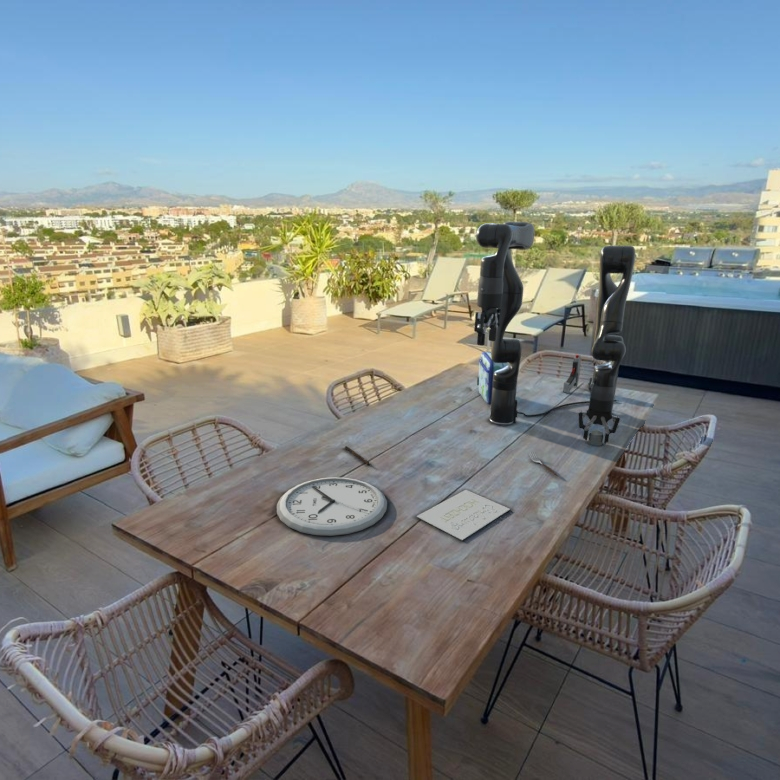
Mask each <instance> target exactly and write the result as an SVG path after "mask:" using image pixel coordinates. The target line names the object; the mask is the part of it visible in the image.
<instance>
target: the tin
mask: <svg viewBox="0 0 780 780" xmlns="http://www.w3.org/2000/svg"><path fill="white" fill-rule="evenodd" d="M588 435H589V436H588V440H587V443H588V444H589V445H590V446H591V445H592V446H596V447H600V446H602V445H603V442H604V436H605V433H604V432H603V431H601V430H596V429H591V430H590V431H589V433H588Z"/></svg>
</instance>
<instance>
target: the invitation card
mask: <svg viewBox="0 0 780 780" xmlns="http://www.w3.org/2000/svg"><path fill="white" fill-rule="evenodd" d="M510 510H511V508H509V507H507V506H504V505H503V504H500V503H498V502H496V501H493V500H492V499H491V500H490V499H488V498H487V497H484V496H481V495H479V494H477V493H474V492H472V491H470V490H468V489H464V490H462V491H460V492H458V493H456V494H455V495H453V496H451V497H449V498H447V499H446V500H443V501H441V502H440V503H438V504H437V505H434V506H433V507H430V508H429V509H427V510H425V511H423V512H422V513H420V514H418V515H416V518H418V519H420V520H421V521H423V522H426V523H427V524H428V525H429V524H430V525H431V526H433V527H435V528H437V529H439V530H440V531H442V532H445V533H446V534H448V535H450V536H453V537H454V538H456V539H457V540H460V541H463V540H465V539H467V538H468V537H470V536H472V535H473V534H474V533H476V532H478V531H480V530H481V529H482V528H484V527H485V526H487V525H488V524H490V523H492V522H493V521H495V520H496V519H498V518H499V517H501V516H503V515H504V514H506V513H507V512H509V511H510Z"/></svg>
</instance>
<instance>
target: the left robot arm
mask: <svg viewBox="0 0 780 780" xmlns="http://www.w3.org/2000/svg"><path fill="white" fill-rule="evenodd" d="M535 231H536V230H535V227H534V225H533V224H532V223H531V222H525V221H506V222H504V223H483V224H481V225H480V226H479V227H478V229H477V230H476V232H475V233H476V234H475V240H476V242H477V244H478V246H479V247H480V248H483V249H497V251H496V252H495V254H493V255H487V256H483V257H482V258H481V260H480V269H479V279H478V285H477V286H478V287H477V299H476V300H477V301H476V302H477V303H476V306H477V307H478V308H481V310H480V312H479V311H478V312H477V311H476V312H475V316H474V317H475V318H474V329H473V331H474V332H475V333H477V338H476V339H477V341H476V344H477V346H485V343H486V332H487V329H488V328H489V329H488V341H489V342H491V348H490V352H491V358H492V361H493V362H494V363H508V365H507V366H506V367H504V368H502V369H499V370H497V371H495V372H494V374H493V385H492V398H491V404H490V410H489V422H490V423H491V424H494V425H497V426H511V425H513V424H516V423H517V418H518V415H521V416H523V417H528V418H530V417H531V418H532V417H540V416H544V415H547V414H548V413H550V412H552V411H554V410H558V409H560V408H563V407H567V406H572V405H580V404H589V402H590V400H587V401H586V400H585V401H577V402H575V401H574V402H570V403H569V402H568V403H565V404H561V405H558V406H555V407H553V408H551V409H548V410H547V411H545V412H541V413H536V414H526V413H524V412H522V411H518V399H517V388H518V378H519V373H520V364H521V357H522V343H521V341H520V339H518V338H504V335H505V333H506V329H507V328H508V326H509V324H510V323H511V321H512V320H513V319H514V318H515V316H516V315H517V313H518V312H519V311H520V309H521V308H522V305H523V298H524V297H523V296H524V284H523V282H522V279H521V277H520V275H519V273H518V272H517V270H516V267H515V265H514V262H513V258H512V250H521V251H522V250H523V251H525V250H528V249H530V248H531V247H532V246H533V244H534V242H535V236H536V232H535ZM615 402H618V399H614V403H615Z"/></svg>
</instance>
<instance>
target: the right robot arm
mask: <svg viewBox="0 0 780 780" xmlns="http://www.w3.org/2000/svg"><path fill="white" fill-rule="evenodd" d="M635 262H636V249H635V247H634V246H633V245H605V246H603V247H602V248H601V250H600V253H599V267H598V268H599V269H598V270H599V275H598V276H599V281H598V283H599V285H598V294H597V301H596V302H597V303H596V323H595V332H594V338H593V345H592V348H591V356H592V358H593V359H594V360H595V361H604V362H605V363H601V364H597V365H595V366H594V367H593V375H592V377H589V382H588V384H587V388H588V390H589V392H590V393H589V395H590V396H589V401H590V402H589V403H588V409H587V410H586V411H582V410H579V412H578V428H579V429H582V430H583V437H582V438H583V439H584V441H587V442H588V438H589V436H588V435H589V429H590V428H591V426H592V425H599V426H603V429H604V431H605V433H604V438H603V444H605V445H606V444H607V443H608V442H609V441H610V435H611V434H616V432H617V429H618V426H619V423H620V420H621V417H620V415H613V409H614V404H615V402H614V400H615V398H616V397H615V396H616V389H617V384H618V376H619V369H620V365H621V363H622V362H623V359H624V358H625V355H626V351H627V347H626V344H625V343H624V338H623V336H621V335H619V334H620V333H622V331H623V327H624V326H623V325H624V317H625V309H626V304H627V299H628V295H629V291H630V287H631V283H632V278H633V275H634V274H633V273H634V268H635ZM611 274H622V276H621V279H620V282H619V283H618V285H617V284H616V283H615V282H614V281H613V279H612V278H613V277H612V276H611ZM586 416H587V418H588V421H587V423H586V424H584V418H586ZM611 420H612V422H613V425H612V428H610V426H609V423H608V422H610V421H611Z"/></svg>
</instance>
